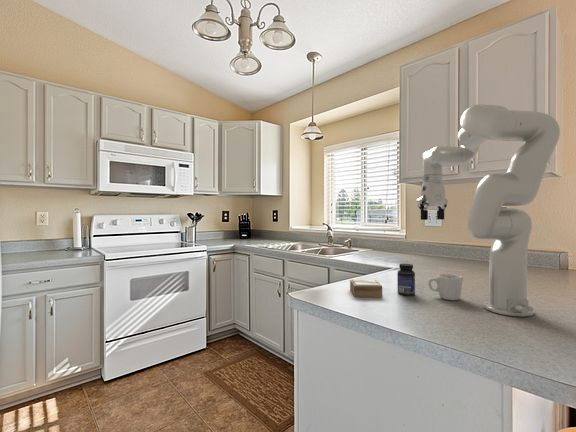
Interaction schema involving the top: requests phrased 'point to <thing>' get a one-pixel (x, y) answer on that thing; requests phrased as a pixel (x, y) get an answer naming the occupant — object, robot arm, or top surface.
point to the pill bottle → (406, 280)
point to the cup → (448, 286)
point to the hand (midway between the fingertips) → (432, 219)
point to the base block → (365, 288)
